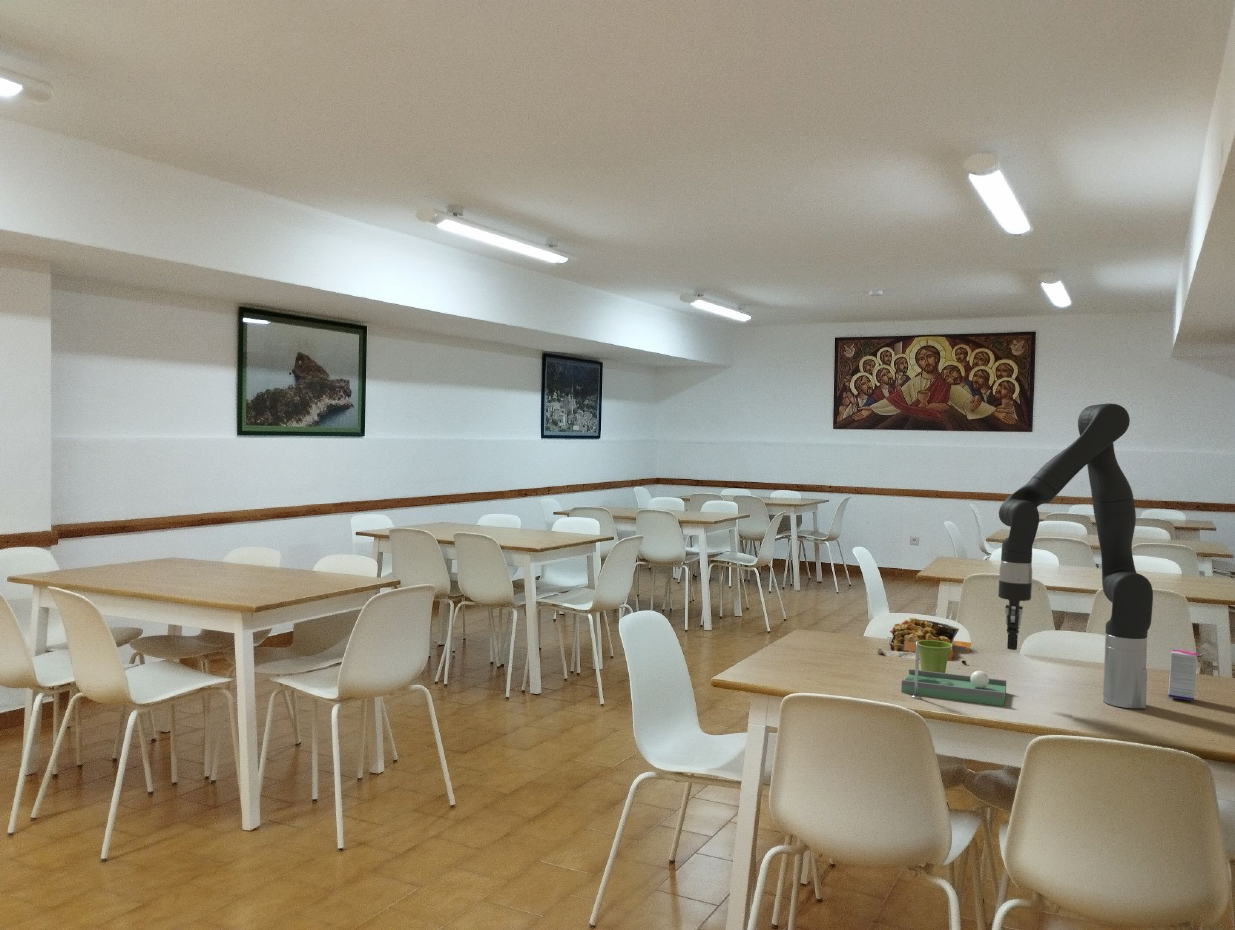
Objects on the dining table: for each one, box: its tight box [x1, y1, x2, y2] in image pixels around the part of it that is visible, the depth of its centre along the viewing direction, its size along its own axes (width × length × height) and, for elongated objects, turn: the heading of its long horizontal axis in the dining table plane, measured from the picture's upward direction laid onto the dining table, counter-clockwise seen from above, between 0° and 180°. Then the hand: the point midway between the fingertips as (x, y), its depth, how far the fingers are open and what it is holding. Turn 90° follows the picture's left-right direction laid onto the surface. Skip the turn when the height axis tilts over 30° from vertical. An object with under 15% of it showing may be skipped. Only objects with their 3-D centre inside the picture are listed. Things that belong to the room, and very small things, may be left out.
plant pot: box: [917, 640, 952, 673], centre depth 258 cm, size 9×9×9 cm
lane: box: [900, 668, 1007, 707], centre depth 240 cm, size 24×14×3 cm, turn 65°
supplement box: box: [1167, 648, 1198, 701], centre depth 241 cm, size 6×6×12 cm
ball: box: [970, 670, 990, 688], centre depth 237 cm, size 4×4×4 cm
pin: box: [904, 641, 922, 700], centre depth 234 cm, size 4×2×14 cm, turn 65°
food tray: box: [876, 617, 972, 666], centre depth 292 cm, size 35×26×11 cm
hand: (1012, 649), depth 234 cm, fingers closed
